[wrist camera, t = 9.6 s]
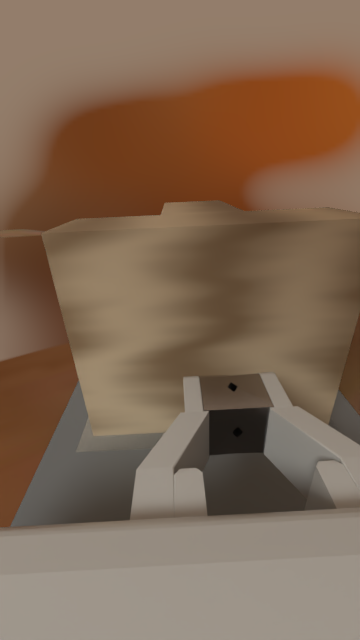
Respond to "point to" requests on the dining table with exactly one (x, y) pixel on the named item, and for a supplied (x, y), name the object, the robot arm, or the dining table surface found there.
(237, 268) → the t block
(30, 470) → the dining table surface
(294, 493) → the t mat
